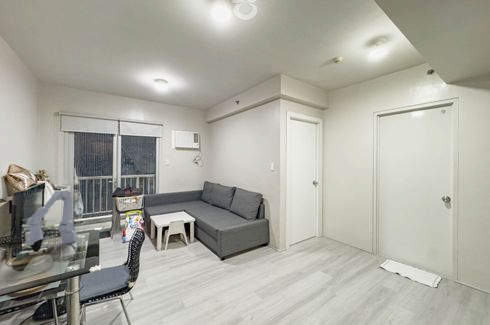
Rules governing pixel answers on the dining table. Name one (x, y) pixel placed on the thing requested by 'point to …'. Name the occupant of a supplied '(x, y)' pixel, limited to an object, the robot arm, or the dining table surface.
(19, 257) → the board
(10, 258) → the dining table surface
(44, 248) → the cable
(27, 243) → the supplement box
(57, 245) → the mat
